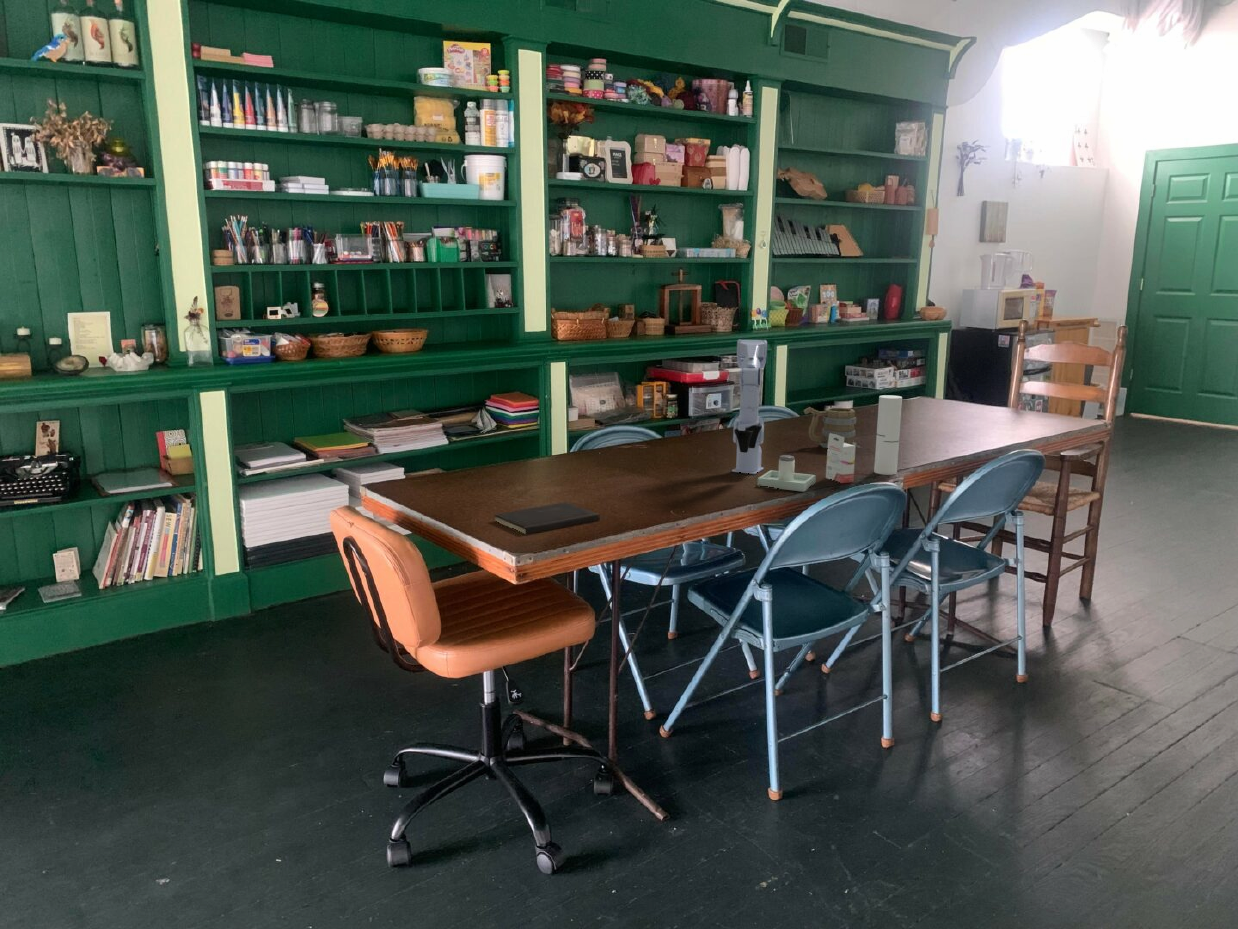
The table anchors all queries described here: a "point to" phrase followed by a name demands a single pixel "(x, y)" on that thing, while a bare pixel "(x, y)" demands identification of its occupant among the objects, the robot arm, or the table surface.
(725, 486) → the table surface
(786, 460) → the shaker
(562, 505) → the hardcover book
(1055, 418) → the table surface
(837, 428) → the tankard
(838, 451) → the ink cartridge box
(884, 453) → the cylindrical container
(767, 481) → the tray
